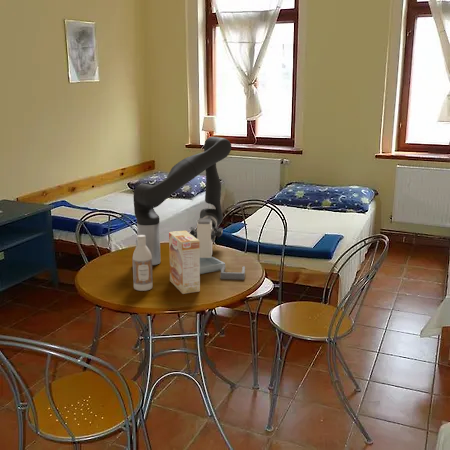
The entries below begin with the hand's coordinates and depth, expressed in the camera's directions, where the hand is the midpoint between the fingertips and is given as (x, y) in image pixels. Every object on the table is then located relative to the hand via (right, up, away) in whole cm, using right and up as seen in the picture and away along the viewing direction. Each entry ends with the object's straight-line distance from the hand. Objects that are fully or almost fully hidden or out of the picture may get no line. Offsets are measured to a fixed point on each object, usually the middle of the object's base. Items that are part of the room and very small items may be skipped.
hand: (204, 237), depth 219 cm
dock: (+11, -15, -3) cm, 19 cm away
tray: (-1, -13, +6) cm, 14 cm away
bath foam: (-22, -19, -17) cm, 34 cm away
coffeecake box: (-7, -18, -15) cm, 25 cm away
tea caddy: (0, -8, +5) cm, 9 cm away
